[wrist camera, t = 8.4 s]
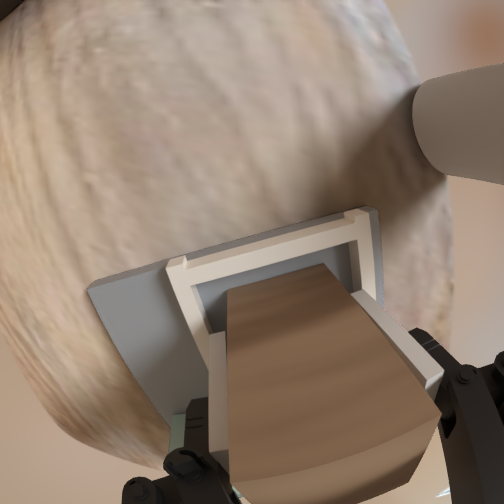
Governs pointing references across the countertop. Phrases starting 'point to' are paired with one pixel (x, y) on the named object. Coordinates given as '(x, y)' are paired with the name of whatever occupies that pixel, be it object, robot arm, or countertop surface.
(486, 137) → the beverage can
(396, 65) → the countertop surface
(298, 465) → the block
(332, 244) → the jig board
